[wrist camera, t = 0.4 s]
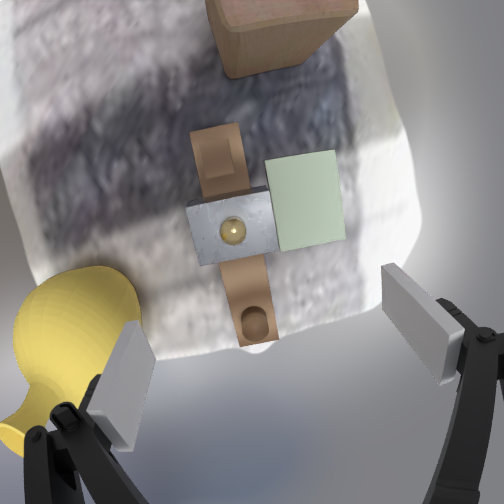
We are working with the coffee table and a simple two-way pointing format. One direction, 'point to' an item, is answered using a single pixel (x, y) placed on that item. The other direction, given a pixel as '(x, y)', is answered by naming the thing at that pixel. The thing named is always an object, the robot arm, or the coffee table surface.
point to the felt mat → (306, 199)
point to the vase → (66, 341)
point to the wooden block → (273, 31)
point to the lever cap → (232, 225)
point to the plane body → (242, 269)
